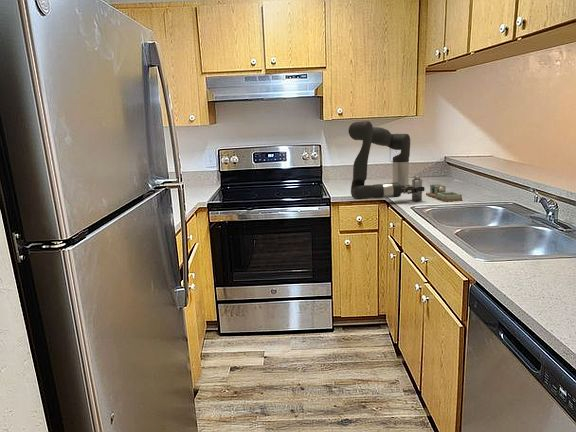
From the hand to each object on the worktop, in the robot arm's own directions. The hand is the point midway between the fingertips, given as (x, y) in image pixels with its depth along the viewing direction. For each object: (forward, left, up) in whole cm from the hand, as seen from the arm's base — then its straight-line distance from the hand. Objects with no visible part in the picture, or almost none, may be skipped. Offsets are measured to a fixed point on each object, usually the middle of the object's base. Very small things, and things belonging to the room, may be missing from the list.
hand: (421, 188), depth 232 cm
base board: (-3, +13, -7) cm, 15 cm away
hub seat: (+3, +13, -5) cm, 15 cm away
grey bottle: (0, -3, -7) cm, 7 cm away
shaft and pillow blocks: (-9, +13, -5) cm, 17 cm away
